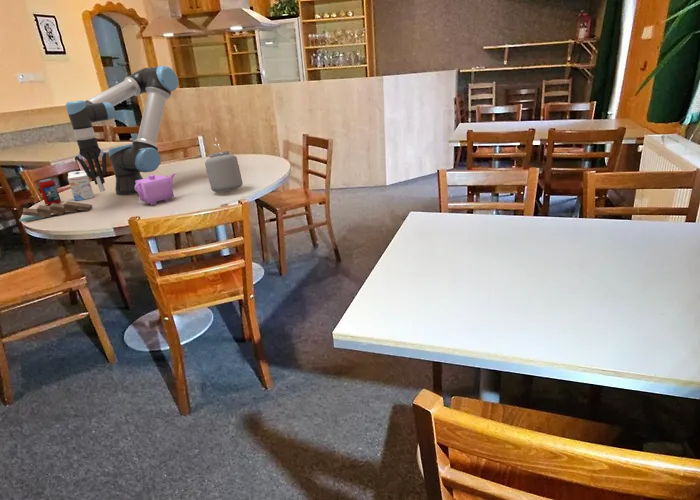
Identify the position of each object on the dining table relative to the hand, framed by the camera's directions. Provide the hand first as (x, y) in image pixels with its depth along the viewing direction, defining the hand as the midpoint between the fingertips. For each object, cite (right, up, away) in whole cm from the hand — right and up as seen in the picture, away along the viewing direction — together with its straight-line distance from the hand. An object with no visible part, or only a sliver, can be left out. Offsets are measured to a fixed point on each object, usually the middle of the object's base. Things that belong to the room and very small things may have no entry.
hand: (102, 190), depth 205 cm
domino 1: (-21, -11, -4) cm, 24 cm away
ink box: (-22, -1, +24) cm, 33 cm away
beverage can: (-34, -4, +18) cm, 38 cm away
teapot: (+25, -4, +5) cm, 26 cm away
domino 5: (-6, -8, +1) cm, 10 cm away
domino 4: (-12, -8, 0) cm, 15 cm away
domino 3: (-16, -10, -2) cm, 19 cm away
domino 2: (-23, -12, -3) cm, 26 cm away
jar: (+54, +1, +12) cm, 55 cm away
